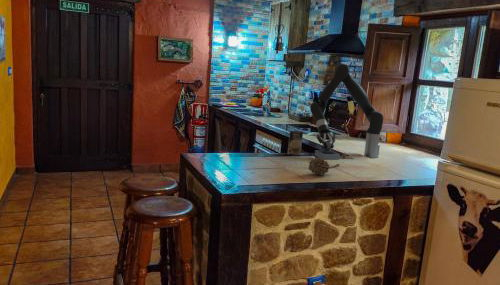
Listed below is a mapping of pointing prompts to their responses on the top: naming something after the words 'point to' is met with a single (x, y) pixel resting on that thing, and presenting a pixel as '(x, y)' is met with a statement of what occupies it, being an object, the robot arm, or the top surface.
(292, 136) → the coffee box
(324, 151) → the metal strut
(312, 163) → the pine cone
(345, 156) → the stud base
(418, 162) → the top surface
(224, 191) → the top surface
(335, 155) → the slate bin
